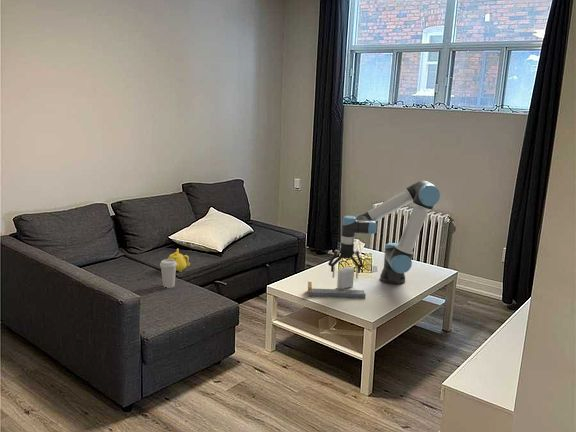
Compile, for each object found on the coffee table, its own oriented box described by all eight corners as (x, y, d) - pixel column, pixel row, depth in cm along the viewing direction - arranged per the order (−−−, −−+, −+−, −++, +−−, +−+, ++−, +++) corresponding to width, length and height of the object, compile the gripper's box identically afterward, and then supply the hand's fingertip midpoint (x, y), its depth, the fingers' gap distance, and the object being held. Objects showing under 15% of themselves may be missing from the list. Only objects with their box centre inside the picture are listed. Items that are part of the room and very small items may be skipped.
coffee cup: (180, 284, 321) (180, 260, 317) (170, 290, 312) (170, 264, 309) (167, 282, 325) (166, 257, 321) (156, 287, 316) (156, 262, 313)
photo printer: (349, 284, 329) (350, 264, 326) (354, 286, 325) (355, 266, 322) (335, 287, 323) (336, 267, 320) (340, 289, 320) (341, 269, 317)
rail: (363, 292, 316) (364, 283, 315) (365, 298, 307) (365, 289, 306) (307, 290, 317) (308, 281, 315) (307, 296, 308) (308, 287, 307)
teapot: (188, 275, 337) (188, 257, 334) (164, 275, 335) (163, 257, 333) (191, 264, 356) (190, 247, 354) (167, 265, 355) (167, 247, 352)
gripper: (368, 242, 321) (365, 276, 326) (325, 239, 322) (323, 274, 327) (369, 245, 314) (367, 280, 319) (326, 243, 314) (323, 278, 319)
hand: (344, 277), depth 323 cm, fingers open, 13 cm apart
